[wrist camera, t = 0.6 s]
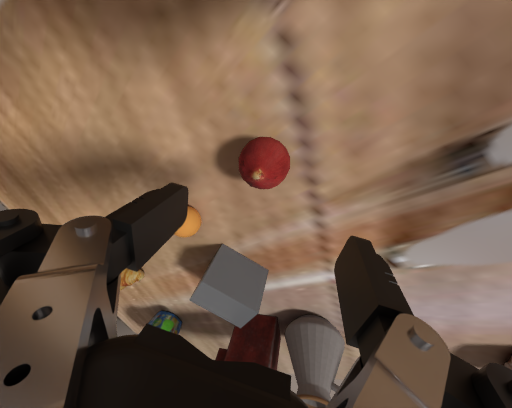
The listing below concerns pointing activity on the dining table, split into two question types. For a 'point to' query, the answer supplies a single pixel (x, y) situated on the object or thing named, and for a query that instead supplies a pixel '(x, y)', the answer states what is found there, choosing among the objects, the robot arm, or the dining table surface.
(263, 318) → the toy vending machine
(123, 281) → the croissant
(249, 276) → the grey rectangular box
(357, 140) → the dining table surface
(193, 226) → the ball
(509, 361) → the food item
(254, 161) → the onion
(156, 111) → the dining table surface
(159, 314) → the snack cup
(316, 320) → the coffee pot
